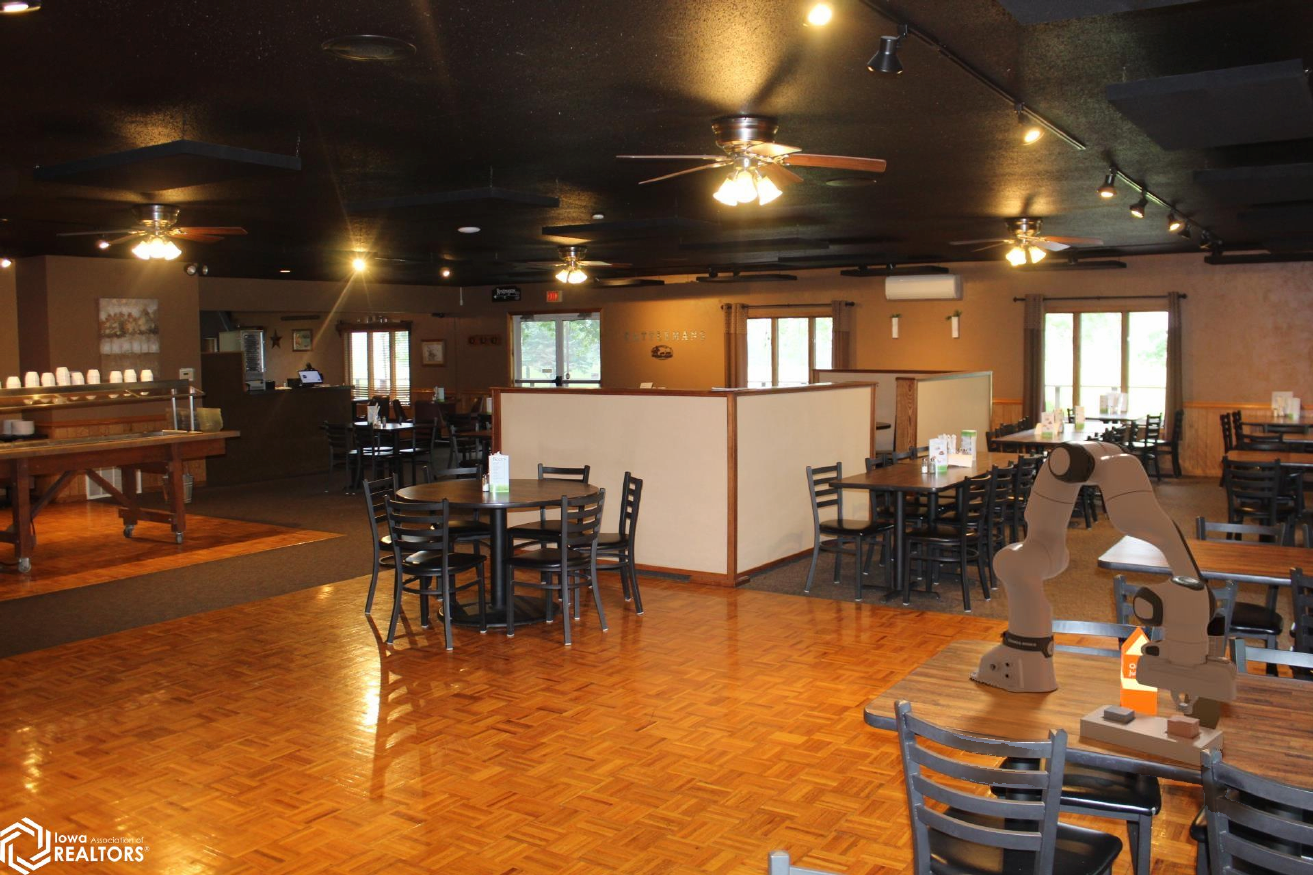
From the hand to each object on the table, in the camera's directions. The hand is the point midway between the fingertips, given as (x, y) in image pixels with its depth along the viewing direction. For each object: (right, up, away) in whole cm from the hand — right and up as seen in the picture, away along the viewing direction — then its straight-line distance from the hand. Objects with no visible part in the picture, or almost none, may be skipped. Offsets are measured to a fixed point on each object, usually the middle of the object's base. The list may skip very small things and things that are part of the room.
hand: (1183, 712), depth 230 cm
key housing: (-5, -8, +6) cm, 11 cm away
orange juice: (+3, -7, +29) cm, 30 cm away
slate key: (-10, -6, +11) cm, 16 cm away
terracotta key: (0, -6, 0) cm, 6 cm away
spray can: (+29, -6, +44) cm, 53 cm away
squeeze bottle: (+11, -8, +15) cm, 20 cm away
